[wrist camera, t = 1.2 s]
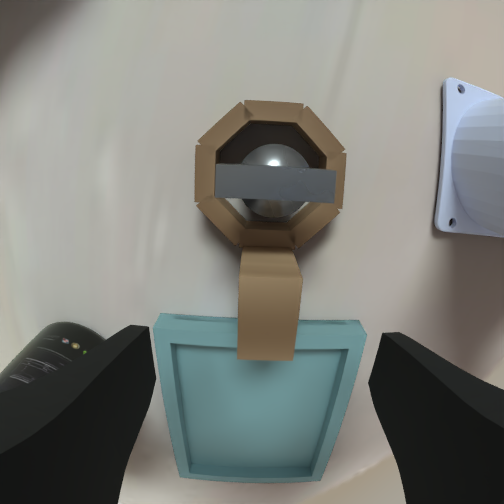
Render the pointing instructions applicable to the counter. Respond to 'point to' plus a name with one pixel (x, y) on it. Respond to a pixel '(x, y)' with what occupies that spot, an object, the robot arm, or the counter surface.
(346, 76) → the counter surface
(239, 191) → the grey cylinder and bar
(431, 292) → the counter surface
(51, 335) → the supplement bottle
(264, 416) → the tray
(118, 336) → the robot arm
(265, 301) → the ring
